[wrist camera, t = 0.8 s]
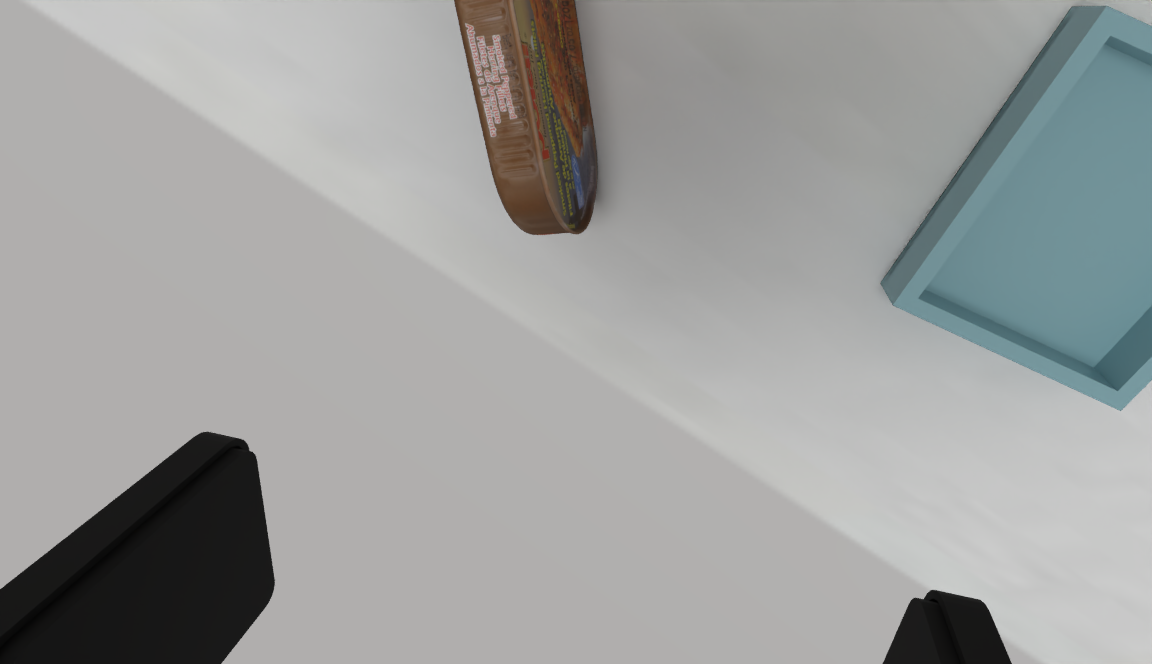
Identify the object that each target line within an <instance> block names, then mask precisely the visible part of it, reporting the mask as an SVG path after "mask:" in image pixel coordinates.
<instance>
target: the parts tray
mask: <svg viewBox="0 0 1152 664" xmlns="http://www.w3.org/2000/svg"><path fill="white" fill-rule="evenodd" d="M881 285H882V287H883V289H884V290H885V292H886V294H887V296H888V298H889V299H890V301H891V303H892V305H893V306H895V307H898V308H900V309H902V310H904V311H906V312H908V313H911V314H913V315H915V316H917V317H919V318H921V319H923V320H926V321H928V322H930V323H932V324H934V325H936V326H939V327H941V328H943V329H945V330H947V331H949V332H952V333H954V334H956V335H958V336H960V337H962V338H964V339H967V340H969V341H971V342H973V343H975V344H977V345H980V346H982V347H984V348H986V349H988V350H990V351H992V352H995V353H997V354H999V355H1001V356H1003V357H1005V358H1008V359H1010V360H1012V361H1014V362H1016V363H1018V364H1020V365H1023V366H1025V367H1027V368H1029V369H1031V370H1033V371H1036V372H1038V373H1040V374H1042V375H1044V376H1046V377H1048V378H1051V379H1053V380H1055V381H1057V382H1059V383H1061V384H1064V385H1066V386H1068V387H1070V388H1072V389H1074V390H1077V391H1079V392H1081V393H1083V394H1085V395H1087V396H1089V397H1092V398H1094V399H1096V400H1098V401H1100V402H1102V403H1105V404H1107V405H1109V406H1111V407H1113V408H1115V409H1117V410H1120V411H1121V410H1122V409H1123V408H1124V407H1125V406H1126V405H1127V404H1128V403H1129V402H1130V401H1131V400H1132V399H1133V398H1134V397H1135V396H1136V395H1137V394H1138V393H1139V392H1140V391H1141V390H1142V389H1143V388H1144V387H1145V386H1146V385H1147V384H1148V383H1149V382H1150V381H1151V380H1152V26H1150V25H1148V24H1146V23H1143V22H1141V21H1139V20H1137V19H1135V18H1132V17H1130V16H1128V15H1126V14H1124V13H1122V12H1119V11H1117V10H1115V9H1113V8H1111V7H1108V6H1083V7H1072V8H1071V9H1070V10H1069V12H1068V13H1067V15H1066V16H1065V18H1064V19H1063V21H1062V22H1061V23H1060V25H1059V26H1058V28H1057V29H1056V31H1055V32H1054V34H1053V35H1052V36H1051V38H1050V39H1049V41H1048V42H1047V44H1046V45H1045V47H1044V48H1043V49H1042V51H1041V52H1040V54H1039V55H1038V57H1037V58H1036V60H1035V61H1034V62H1033V64H1032V65H1031V67H1030V68H1029V70H1028V71H1027V73H1026V74H1025V75H1024V77H1023V78H1022V80H1021V81H1020V83H1019V84H1018V86H1017V87H1016V88H1015V90H1014V91H1013V93H1012V94H1011V96H1010V97H1009V99H1008V100H1007V101H1006V103H1005V104H1004V106H1003V107H1002V109H1001V110H1000V112H999V113H998V114H997V116H996V117H995V119H994V120H993V122H992V123H991V125H990V126H989V127H988V129H987V130H986V132H985V133H984V135H983V136H982V137H981V139H980V140H979V142H978V143H977V145H976V146H975V148H974V149H973V150H972V152H971V153H970V155H969V156H968V158H967V159H966V161H965V162H964V163H963V165H962V166H961V168H960V169H959V171H958V172H957V174H956V175H955V176H954V178H953V179H952V181H951V182H950V184H949V185H948V187H947V188H946V189H945V191H944V192H943V194H942V195H941V197H940V198H939V200H938V201H937V202H936V204H935V205H934V207H933V208H932V210H931V211H930V213H929V214H928V215H927V217H926V218H925V220H924V221H923V223H922V224H921V226H920V227H919V228H918V230H917V231H916V233H915V234H914V236H913V237H912V239H911V240H910V241H909V243H908V244H907V246H906V247H905V249H904V250H903V252H902V253H901V254H900V256H899V257H898V259H897V260H896V262H895V263H894V265H893V266H892V267H891V269H890V270H889V272H888V273H887V275H886V276H885V278H884V279H883V280H882V282H881Z"/></svg>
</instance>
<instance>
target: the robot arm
mask: <svg viewBox="0 0 1152 664" xmlns="http://www.w3.org/2000/svg"><path fill="white" fill-rule="evenodd" d="M274 581H275V580H274V573H273V566H272V559H271V552H270V547H269V539H268V532H267V525H266V519H265V512H264V505H263V498H262V491H261V485H260V478H259V471H258V464H257V459H256V456H255V454H254V453H253V452H251V451H249V447H248V445H247V443H246V442H245V441H244V440H242V439H239V438H234V437H229V436H225V435H220V434H216V433H211V432H203V433H200V434H198V435H197V436H195V437H193V438H192V439H191V440H190V441H188V442H187V443H186V444H185V445H183V446H182V447H181V448H180V449H178V450H177V451H176V452H174V453H173V454H172V455H171V456H169V457H168V458H167V459H165V460H164V461H163V462H162V463H160V464H159V465H158V466H157V467H155V468H154V469H153V470H151V471H150V472H149V473H148V474H146V475H145V476H144V477H143V478H141V479H140V480H139V481H137V482H136V483H135V484H134V485H132V486H131V487H130V488H129V489H127V490H126V491H125V492H123V493H122V494H121V495H120V496H118V497H117V498H116V499H115V500H113V501H112V502H111V503H109V504H108V505H107V506H106V507H104V508H103V509H102V510H101V511H99V512H98V513H97V514H96V515H94V516H93V517H92V518H91V519H89V520H88V521H87V522H85V523H84V524H83V525H82V526H80V527H79V528H78V529H76V530H75V531H74V532H73V533H71V534H70V535H69V536H68V537H66V538H65V539H64V540H62V541H61V542H60V543H59V544H57V545H56V546H55V547H54V548H52V549H51V550H50V551H48V553H46V554H45V555H43V556H42V557H41V558H40V559H38V560H37V561H36V562H34V563H33V564H32V565H31V566H29V567H28V568H27V569H26V570H24V571H23V572H22V573H20V574H19V575H18V576H17V577H15V578H14V579H13V580H12V581H10V582H9V583H8V584H6V585H5V586H4V587H3V588H1V589H0V664H221V663H222V662H223V661H224V659H225V658H226V657H227V655H228V654H229V653H230V652H231V650H232V649H233V648H234V647H235V645H236V644H237V643H238V642H239V640H240V639H241V638H242V637H243V635H244V634H245V633H246V631H247V630H248V629H249V627H250V626H251V625H252V624H253V622H254V621H255V620H256V619H257V617H258V616H259V615H260V614H261V612H262V611H263V610H264V608H265V607H266V606H267V604H268V603H269V601H270V599H271V596H272V593H273V590H274V585H275V582H274ZM883 664H1012V663H1011V661H1010V659H1009V656H1008V654H1007V652H1006V649H1005V647H1004V644H1003V642H1002V640H1001V637H1000V635H999V633H998V630H997V628H996V626H995V623H994V621H993V619H992V616H991V614H990V612H989V610H988V608H987V606H986V605H985V603H983V602H982V601H981V600H978V599H974V598H969V597H964V596H960V595H955V594H951V593H946V592H941V591H937V590H931V591H930V592H928V593H927V595H926V596H925V598H924V599H919V598H914V599H912V600H911V602H910V603H909V605H908V607H907V610H906V612H905V614H904V617H903V619H902V621H901V623H900V626H899V628H898V630H897V632H896V635H895V637H894V640H893V642H892V644H891V646H890V649H889V651H888V653H887V655H886V658H885V660H884V662H883Z"/></svg>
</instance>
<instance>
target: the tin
mask: <svg viewBox="0 0 1152 664" xmlns="http://www.w3.org/2000/svg"><path fill="white" fill-rule="evenodd" d="M454 1H455V7H456V12H457V16H458V20H459V26H460V31H461V35H462V40H463V45H464V49H465V53H466V58H467V63H468V68H469V72H470V78H471V82H472V85H473V90H474V95H475V100H476V104H477V109H478V113H479V118H480V123H481V127H482V131H483V136H484V140H485V145H486V149H487V153H488V158H489V162H490V167H491V171H492V175H493V178H494V182H495V185H496V188H497V191H498V194H499V196H500V199H501V201H502V203H503V206H504V208H505V210H506V211H507V213H508V215H509V216H510V218H511V219H512V221H513V222H514V223H515V224H516V225H517V226H518V227H519V228H520V229H521V230H523V231H524V232H526V233H529V234H532V235H547V234H559V233H572V234H580V233H582V232H583V231H584V230H585V229H586V228H587V226H588V224H589V222H590V220H591V217H592V213H593V208H594V203H595V196H596V188H597V154H596V145H595V135H594V128H593V121H592V115H591V108H590V101H589V95H588V88H587V82H586V76H585V69H584V62H583V56H582V49H581V42H580V35H579V28H578V22H577V15H576V9H575V2H574V0H454Z"/></svg>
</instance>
